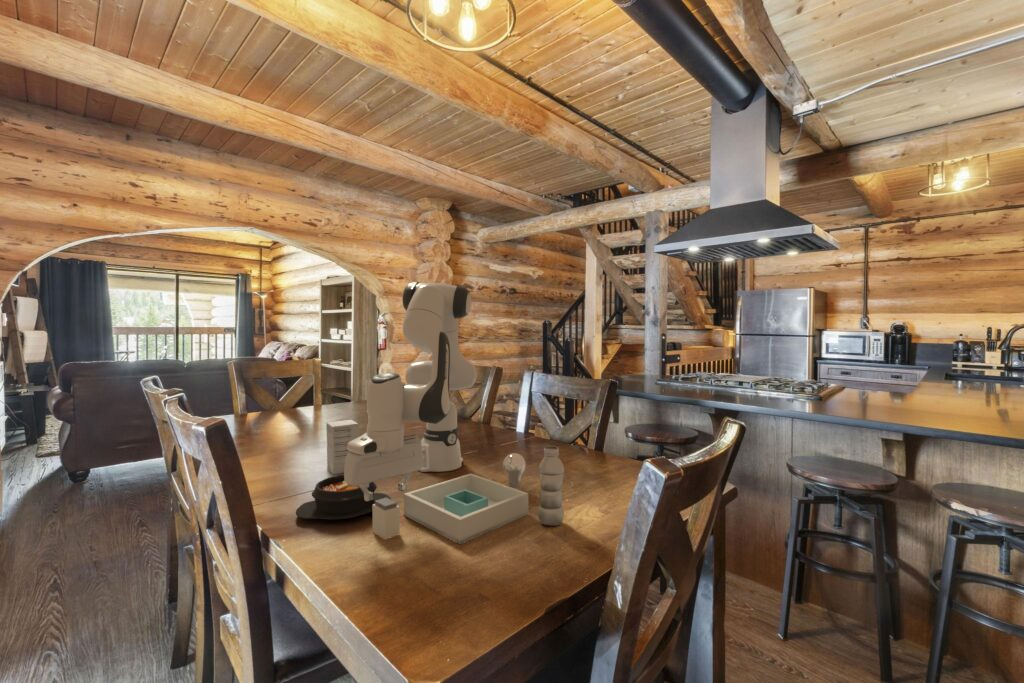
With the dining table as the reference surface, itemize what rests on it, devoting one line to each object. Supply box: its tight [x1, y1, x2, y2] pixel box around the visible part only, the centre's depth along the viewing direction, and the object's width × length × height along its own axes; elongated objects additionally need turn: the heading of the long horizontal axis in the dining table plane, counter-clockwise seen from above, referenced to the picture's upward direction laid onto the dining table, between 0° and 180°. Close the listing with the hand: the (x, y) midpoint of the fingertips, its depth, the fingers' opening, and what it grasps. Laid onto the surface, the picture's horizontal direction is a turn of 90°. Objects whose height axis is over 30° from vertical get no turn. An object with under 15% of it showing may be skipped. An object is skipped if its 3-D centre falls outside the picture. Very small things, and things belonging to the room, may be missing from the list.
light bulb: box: [502, 452, 526, 490], centre depth 143 cm, size 7×7×12 cm
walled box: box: [403, 473, 529, 545], centre depth 126 cm, size 24×24×6 cm
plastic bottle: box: [537, 445, 565, 527], centre depth 120 cm, size 6×7×20 cm
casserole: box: [295, 474, 392, 521], centre depth 128 cm, size 25×19×8 cm
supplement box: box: [325, 419, 360, 475], centre depth 166 cm, size 10×9×17 cm
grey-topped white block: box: [371, 498, 401, 540], centre depth 115 cm, size 6×4×8 cm, turn 46°
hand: (386, 495), depth 114 cm, fingers open, 8 cm apart
